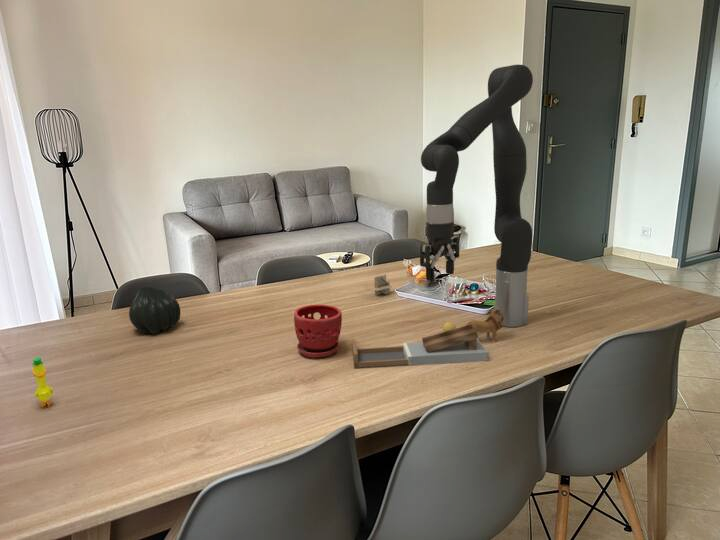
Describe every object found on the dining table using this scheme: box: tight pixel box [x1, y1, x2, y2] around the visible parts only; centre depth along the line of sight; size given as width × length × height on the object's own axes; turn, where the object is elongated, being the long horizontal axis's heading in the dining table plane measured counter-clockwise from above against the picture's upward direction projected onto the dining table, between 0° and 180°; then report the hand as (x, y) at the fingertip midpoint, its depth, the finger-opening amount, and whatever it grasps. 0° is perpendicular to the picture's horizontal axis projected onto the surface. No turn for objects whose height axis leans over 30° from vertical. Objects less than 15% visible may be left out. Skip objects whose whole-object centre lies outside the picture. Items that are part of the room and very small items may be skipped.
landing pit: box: [351, 340, 409, 370], centre depth 145 cm, size 14×9×4 cm, turn 94°
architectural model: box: [372, 274, 393, 296], centre depth 199 cm, size 3×7×7 cm, turn 128°
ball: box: [442, 321, 457, 332], centre depth 154 cm, size 4×4×4 cm
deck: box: [402, 338, 488, 366], centre depth 146 cm, size 21×9×2 cm, turn 94°
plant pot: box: [293, 304, 343, 358], centre depth 151 cm, size 13×13×12 cm
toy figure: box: [31, 357, 54, 407], centre depth 126 cm, size 7×4×12 cm, turn 38°
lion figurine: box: [466, 307, 504, 343], centre depth 154 cm, size 15×5×9 cm, turn 116°
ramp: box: [421, 324, 480, 353], centre depth 145 cm, size 14×6×5 cm, turn 94°
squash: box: [128, 286, 181, 334], centre depth 172 cm, size 14×15×15 cm
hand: (440, 277), depth 152 cm, fingers open, 8 cm apart
